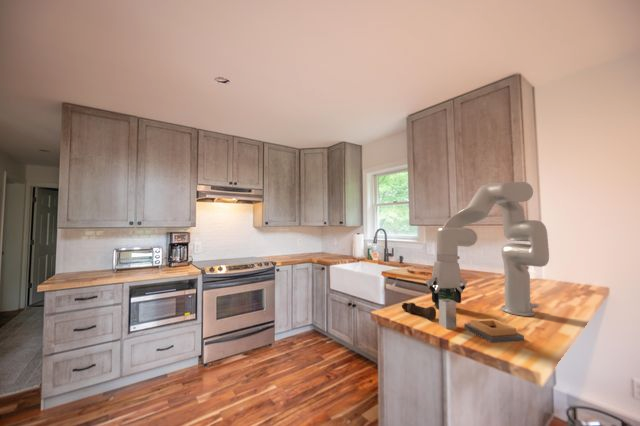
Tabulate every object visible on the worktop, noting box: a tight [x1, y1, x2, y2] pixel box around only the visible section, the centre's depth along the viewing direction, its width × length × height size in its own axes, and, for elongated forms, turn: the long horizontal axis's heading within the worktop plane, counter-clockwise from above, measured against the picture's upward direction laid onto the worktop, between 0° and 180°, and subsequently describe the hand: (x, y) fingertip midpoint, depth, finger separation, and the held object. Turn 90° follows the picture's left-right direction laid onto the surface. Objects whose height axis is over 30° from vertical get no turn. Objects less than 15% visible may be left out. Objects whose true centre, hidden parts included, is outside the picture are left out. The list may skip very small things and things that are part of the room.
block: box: [438, 299, 457, 330], centre depth 105 cm, size 4×4×10 cm
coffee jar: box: [434, 288, 456, 309], centre depth 128 cm, size 10×8×19 cm
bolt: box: [401, 302, 437, 321], centre depth 118 cm, size 6×5×15 cm
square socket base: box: [464, 318, 525, 343], centre depth 98 cm, size 13×13×4 cm
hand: (446, 302), depth 105 cm, fingers open, 9 cm apart
